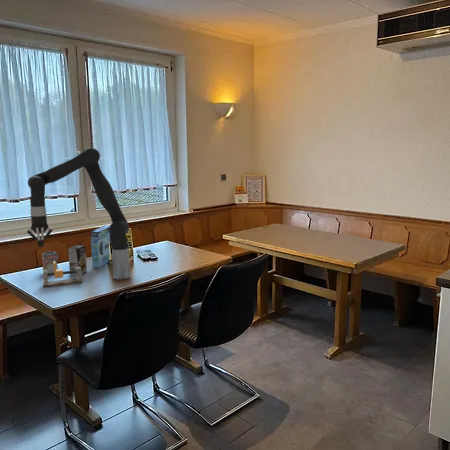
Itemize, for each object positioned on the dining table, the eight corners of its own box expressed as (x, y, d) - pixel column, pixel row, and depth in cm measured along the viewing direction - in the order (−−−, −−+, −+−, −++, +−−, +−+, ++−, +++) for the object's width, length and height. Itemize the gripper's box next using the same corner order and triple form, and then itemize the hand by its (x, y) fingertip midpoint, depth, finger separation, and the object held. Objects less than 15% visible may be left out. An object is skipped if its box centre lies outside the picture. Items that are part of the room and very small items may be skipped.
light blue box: (106, 259, 288) (104, 225, 283) (113, 259, 287) (111, 225, 283) (92, 267, 269) (89, 231, 265) (99, 268, 268) (97, 231, 264)
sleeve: (62, 275, 240) (61, 260, 239) (63, 277, 237) (62, 262, 235) (54, 276, 239) (53, 261, 237) (54, 278, 235) (53, 263, 234)
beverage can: (61, 272, 259) (60, 253, 257) (47, 275, 253) (46, 255, 251) (54, 269, 265) (52, 250, 263) (40, 272, 259) (39, 252, 257)
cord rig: (81, 279, 246) (80, 265, 244) (82, 282, 241) (81, 268, 239) (43, 284, 238) (42, 269, 237) (43, 287, 233) (42, 272, 231)
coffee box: (79, 275, 253) (77, 248, 250) (69, 274, 255) (67, 248, 252) (87, 271, 262) (85, 245, 259) (77, 270, 263) (75, 244, 260)
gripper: (52, 212, 234) (54, 244, 238) (25, 214, 229) (27, 246, 233) (52, 214, 227) (54, 247, 231) (24, 216, 222) (27, 249, 226)
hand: (41, 246), depth 232 cm, fingers closed
